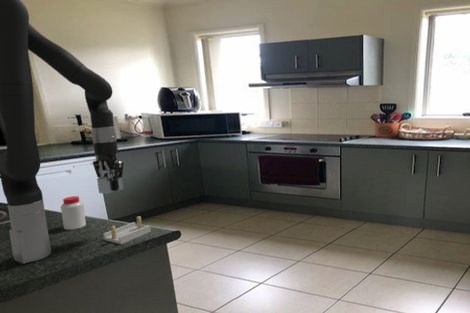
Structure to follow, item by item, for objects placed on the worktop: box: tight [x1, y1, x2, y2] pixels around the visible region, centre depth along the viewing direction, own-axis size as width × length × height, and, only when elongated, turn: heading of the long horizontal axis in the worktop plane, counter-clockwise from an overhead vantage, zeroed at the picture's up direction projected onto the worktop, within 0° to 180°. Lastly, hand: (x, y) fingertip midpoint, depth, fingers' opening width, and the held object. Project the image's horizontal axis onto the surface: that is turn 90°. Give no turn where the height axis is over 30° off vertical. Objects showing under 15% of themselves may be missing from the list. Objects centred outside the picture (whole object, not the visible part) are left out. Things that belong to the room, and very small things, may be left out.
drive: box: [96, 174, 124, 195], centre depth 126 cm, size 7×4×5 cm, turn 146°
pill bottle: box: [60, 195, 87, 231], centre depth 139 cm, size 8×8×11 cm
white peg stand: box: [103, 215, 152, 245], centre depth 124 cm, size 12×9×5 cm
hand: (111, 189), depth 126 cm, fingers closed on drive, 4 cm apart
